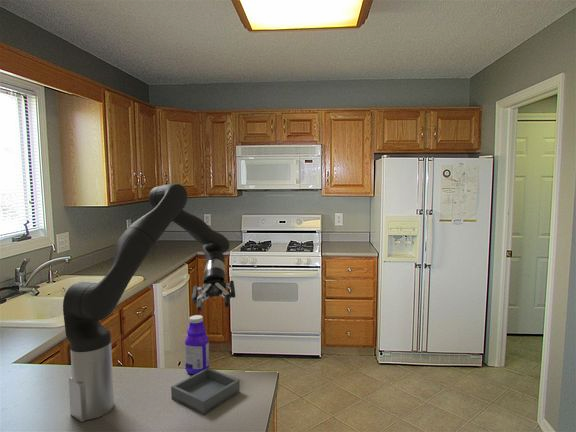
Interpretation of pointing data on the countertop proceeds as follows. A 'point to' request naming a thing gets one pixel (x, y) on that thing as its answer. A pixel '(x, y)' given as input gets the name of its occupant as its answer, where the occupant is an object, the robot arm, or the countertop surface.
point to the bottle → (196, 346)
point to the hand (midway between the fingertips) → (213, 307)
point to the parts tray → (205, 390)
